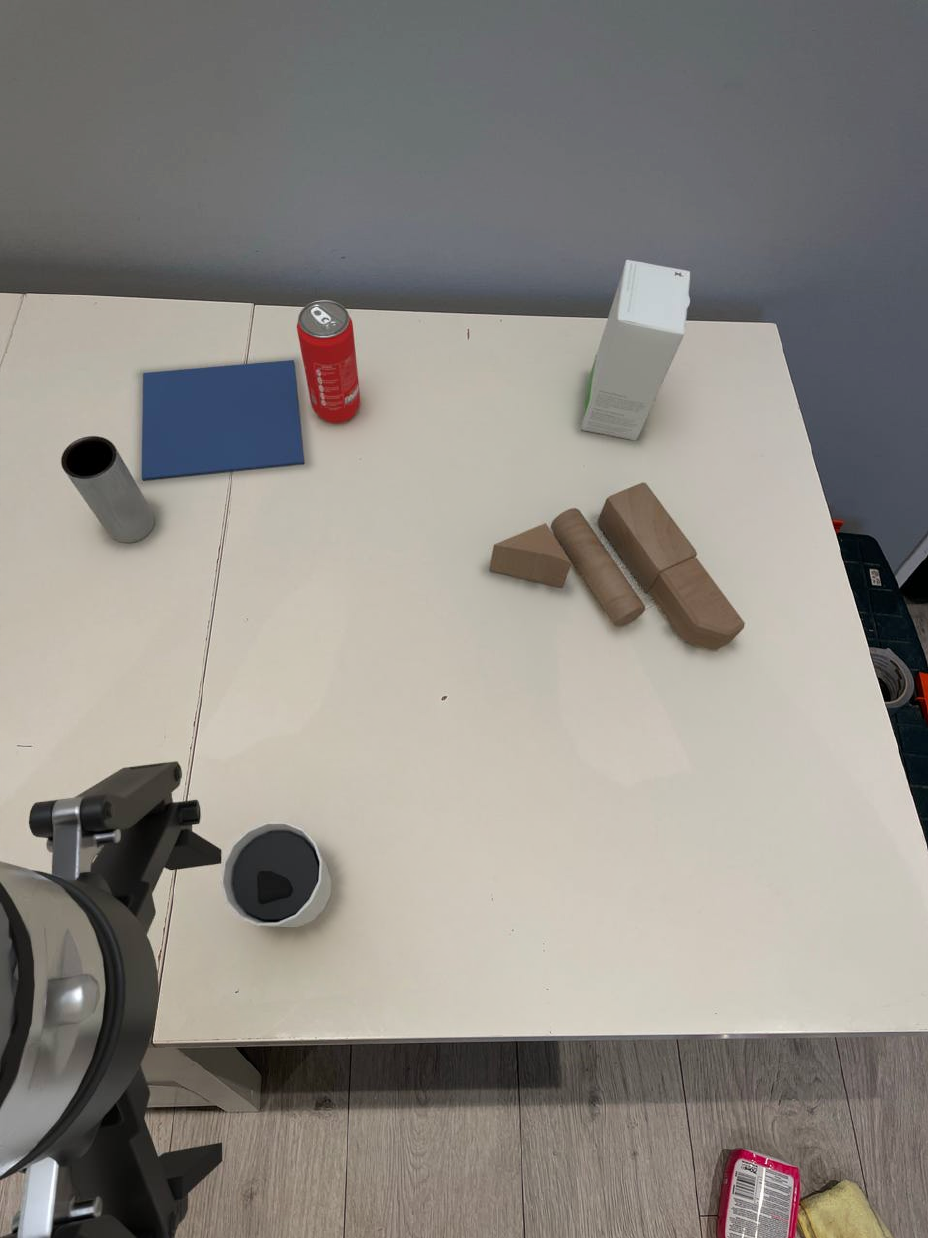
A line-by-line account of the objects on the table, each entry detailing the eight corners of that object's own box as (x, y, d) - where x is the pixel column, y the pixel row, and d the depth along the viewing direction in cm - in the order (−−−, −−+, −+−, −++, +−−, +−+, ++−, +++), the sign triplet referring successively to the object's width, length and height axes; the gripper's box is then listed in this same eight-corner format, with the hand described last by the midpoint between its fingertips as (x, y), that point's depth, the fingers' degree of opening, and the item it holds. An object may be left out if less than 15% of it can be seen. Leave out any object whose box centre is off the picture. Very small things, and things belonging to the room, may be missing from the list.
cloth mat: (142, 480, 74) (141, 478, 73) (144, 375, 79) (143, 372, 79) (304, 463, 76) (303, 461, 75) (294, 362, 81) (293, 359, 81)
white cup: (342, 923, 57) (328, 914, 48) (255, 942, 56) (224, 937, 47) (331, 836, 60) (315, 812, 51) (248, 853, 59) (216, 832, 50)
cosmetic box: (589, 375, 83) (624, 254, 69) (647, 387, 83) (693, 267, 69) (579, 433, 79) (614, 317, 65) (640, 444, 79) (687, 331, 65)
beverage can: (331, 434, 77) (317, 347, 67) (302, 404, 79) (284, 314, 68) (370, 410, 79) (363, 321, 68) (341, 381, 81) (329, 290, 70)
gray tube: (116, 501, 72) (72, 431, 63) (161, 507, 72) (124, 439, 63) (100, 539, 70) (51, 474, 61) (146, 546, 70) (105, 482, 61)
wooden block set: (643, 466, 71) (756, 617, 64) (627, 500, 76) (731, 644, 69) (488, 529, 67) (593, 699, 60) (483, 561, 72) (579, 720, 65)
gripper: (78, 1741, 14) (277, 1295, 33) (138, 576, 24) (262, 751, 43) (-370, 1858, 13) (102, 1330, 32) (-106, 600, 23) (130, 768, 43)
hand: (195, 997), depth 38 cm, fingers open, 13 cm apart
